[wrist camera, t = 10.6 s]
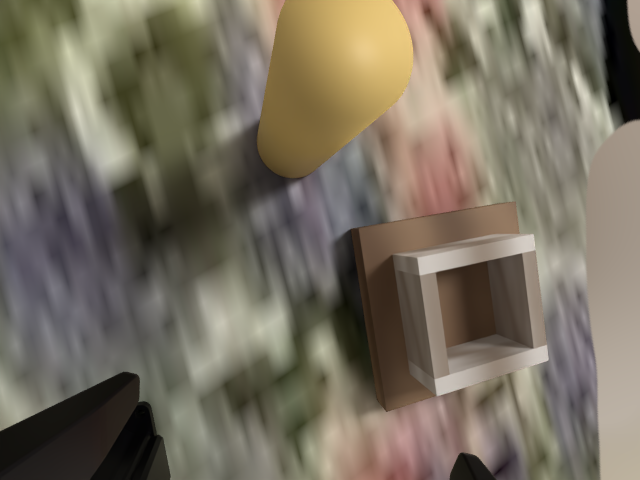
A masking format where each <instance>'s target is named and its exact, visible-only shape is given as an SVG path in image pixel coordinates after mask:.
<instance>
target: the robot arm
mask: <svg viewBox="0 0 640 480" xmlns="http://www.w3.org/2000/svg"><path fill="white" fill-rule="evenodd" d="M139 388H140V378H139V376H138V375H137V374H134V373H130V372H122V373H120V374H118V375H115V376H113V377H111V378H109V379H107V380H105V381H103V382H101V383H99V384H97V385H95V386H93V387H91V388H89V389H87V390H85V391H82V392H80V393H78V394H76V395H74V396H72V397H70V398H68V399H66V400H64V401H62V402H60V403H58V404H56V405H54V406H52V407H49V408H47V409H45V410H43V411H41V412H39V413H37V414H35V415H33V416H31V417H29V418H27V419H25V420H23V421H21V422H19V423H16V424H14V425H12V426H10V427H8V428H6V429H4V430H2V431H0V480H170V471H169V466H168V461H167V456H166V451H165V446H164V441H163V437H161V436H160V435H157V433H156V428H155V423H154V418H153V413H152V408H151V406H150V404H149V403H148V402H144V401H143V402H138V401H139ZM139 409H142V410H144V412H145V413H144V414H138V412H137V410H139ZM450 480H496V478H495V477H494V476H493V475H492V474H491V472H490V471H489V470H488V469H487V467H486V466H485V465H484V464H483V463H482V461H481V460H480V459H479V458H478V457H477V456H475V455H472V454H467V453H460V454H459V455H458V457H457V460H456V462H455V464H454V466H453V469H452V471H451V474H450Z"/></svg>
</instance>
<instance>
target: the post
mask: <svg viewBox="0 0 640 480" xmlns="http://www.w3.org/2000/svg"><path fill="white" fill-rule="evenodd" d="M412 66H413V47H412V41H411V36H410V32H409V29H408V26H407V24H406V22H405V20H404V17H403V16H402V14H401V12H400V11H399V9H398V8H397V6H396V5H395V4H394V2H393V1H392V0H286V1H285V3H284V5H283V7H282V9H281V12H280V15H279V18H278V23H277V28H276V34H275V39H274V45H273V51H272V56H271V62H270V67H269V73H268V79H267V84H266V90H265V95H264V101H263V107H262V112H261V118H260V123H259V129H258V135H257V148H258V152H259V155H260V157H261V159H262V161H263V162H264V163H265V165H266V166H267V167H268V168H269V169H270V170H271V171H273V172H274V173H276V174H278V175H280V176H282V177H286V178H301V177H304V176H307V175H309V174H311V173H312V172H313V171H315V170H316V169H317V168H318V167H319V166H321V165H322V164H323V163H324V162H325V161H327V160H328V159H329V158H330V157H331V156H333V155H334V154H335V153H336V152H337V151H339V150H340V149H341V148H342V147H343V146H345V145H346V144H347V143H348V142H349V141H351V140H352V139H353V138H354V137H355V136H357V135H358V134H359V133H360V132H361V131H363V130H364V129H365V128H366V127H367V126H369V125H370V124H371V123H372V122H373V121H375V120H376V119H377V118H378V117H379V116H381V115H382V114H383V113H384V112H385V111H387V110H388V109H389V108H390V107H391V106H392V105H393V104H394V103H396V102H397V100H398V99H399V98H400V97H401V95H402V94H403V92H404V90H405V89H406V87H407V84H408V82H409V79H410V76H411V72H412Z"/></svg>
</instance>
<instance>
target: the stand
mask: <svg viewBox="0 0 640 480" xmlns="http://www.w3.org/2000/svg"><path fill="white" fill-rule="evenodd" d="M351 234H352V241H353V247H354V253H355V260H356V266H357V273H358V279H359V286H360V292H361V299H362V305H363V312H364V318H365V325H366V331H367V338H368V344H369V351H370V357H371V364H372V370H373V377H374V383H375V390H376V396H377V401H378V402H379V403H380V404H381V406H382V407H383V408H384V409H385V410H386V412H388V411H391V410H394V409H397V408H400V407H403V406H406V405H409V404H412V403H416V402H419V401H422V400H425V399H428V398H431V397H434V396H440V395H443V394H446V393H449V392H452V391H455V390H458V389H461V388H464V387H467V386H471V385H474V384H477V383H480V382H483V381H486V380H489V379H492V378H495V377H498V376H502V375H505V374H508V373H511V372H514V371H517V370H520V369H523V368H526V367H529V366H533V365H536V364H539V363H542V362H545V361H548V360H549V359H548V351H547V343H546V334H545V326H544V317H543V309H542V301H541V292H540V284H539V275H538V267H537V259H536V250H535V242H534V234H519V226H518V217H517V209H516V202H507V203H499V204H493V205H487V206H481V207H475V208H470V209H464V210H458V211H452V212H446V213H440V214H434V215H429V216H423V217H417V218H411V219H405V220H399V221H393V222H388V223H382V224H376V225H370V226H364V227H358V228H353V229H351Z"/></svg>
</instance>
